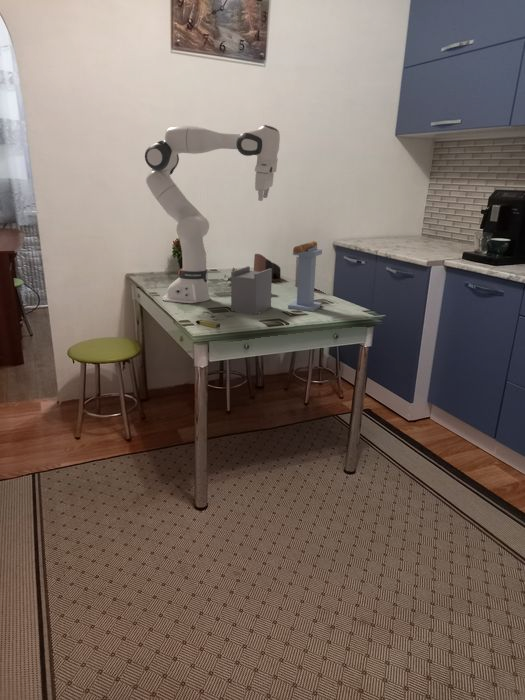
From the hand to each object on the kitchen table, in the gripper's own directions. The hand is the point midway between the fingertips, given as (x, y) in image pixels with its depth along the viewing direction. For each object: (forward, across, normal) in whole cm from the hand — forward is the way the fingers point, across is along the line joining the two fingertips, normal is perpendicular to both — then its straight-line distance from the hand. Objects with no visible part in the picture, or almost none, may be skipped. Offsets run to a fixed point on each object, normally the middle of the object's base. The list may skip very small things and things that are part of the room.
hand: (262, 199), depth 225 cm
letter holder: (+54, -54, -4) cm, 76 cm away
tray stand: (+45, +20, +5) cm, 49 cm away
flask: (+48, -32, +20) cm, 61 cm away
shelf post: (+43, +10, +27) cm, 52 cm away
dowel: (+16, +9, +23) cm, 30 cm away
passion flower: (+52, -28, -15) cm, 61 cm away
